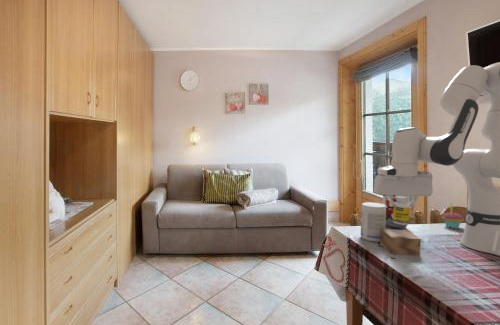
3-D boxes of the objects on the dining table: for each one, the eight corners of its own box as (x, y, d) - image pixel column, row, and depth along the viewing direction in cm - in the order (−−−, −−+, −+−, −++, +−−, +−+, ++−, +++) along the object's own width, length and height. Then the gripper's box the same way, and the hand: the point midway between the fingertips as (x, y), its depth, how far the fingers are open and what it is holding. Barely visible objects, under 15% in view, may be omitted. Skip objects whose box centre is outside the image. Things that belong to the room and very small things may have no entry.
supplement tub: (389, 239, 115) (391, 205, 114) (376, 244, 109) (378, 208, 108) (368, 233, 123) (370, 201, 122) (355, 237, 117) (356, 203, 116)
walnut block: (405, 244, 109) (406, 230, 109) (419, 255, 99) (420, 239, 99) (380, 243, 110) (381, 229, 110) (391, 253, 100) (392, 238, 100)
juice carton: (386, 222, 139) (389, 170, 137) (409, 228, 131) (413, 172, 129) (379, 226, 133) (382, 171, 131) (403, 231, 125) (406, 173, 123)
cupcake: (437, 224, 138) (439, 201, 137) (452, 224, 139) (454, 201, 138) (452, 230, 129) (453, 205, 128) (468, 229, 130) (470, 204, 129)
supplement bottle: (393, 224, 102) (395, 198, 102) (391, 220, 107) (393, 195, 107) (410, 225, 100) (411, 199, 100) (407, 222, 105) (409, 197, 105)
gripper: (427, 170, 105) (425, 205, 106) (373, 169, 106) (371, 203, 107) (437, 172, 99) (435, 209, 100) (379, 170, 100) (377, 207, 101)
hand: (401, 206), depth 103 cm, fingers closed on supplement bottle, 5 cm apart
